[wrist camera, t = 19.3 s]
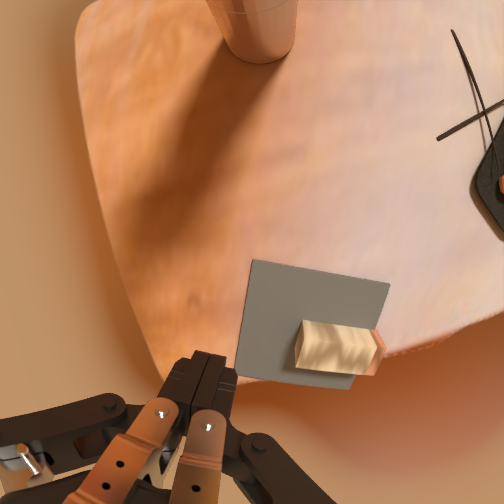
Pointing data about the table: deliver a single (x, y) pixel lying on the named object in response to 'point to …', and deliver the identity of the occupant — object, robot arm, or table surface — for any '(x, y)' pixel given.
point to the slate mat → (300, 319)
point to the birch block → (338, 348)
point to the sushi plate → (487, 158)
